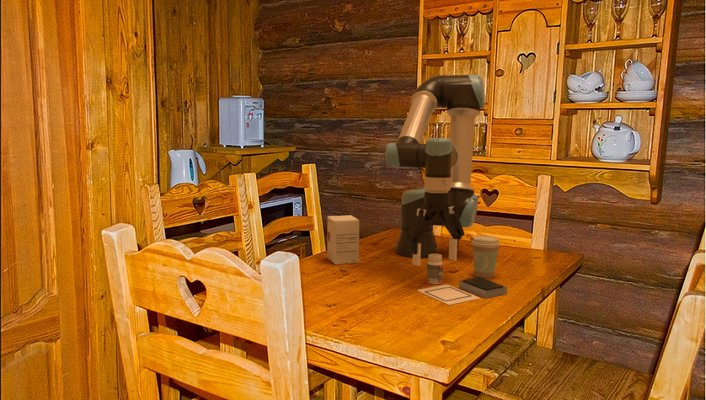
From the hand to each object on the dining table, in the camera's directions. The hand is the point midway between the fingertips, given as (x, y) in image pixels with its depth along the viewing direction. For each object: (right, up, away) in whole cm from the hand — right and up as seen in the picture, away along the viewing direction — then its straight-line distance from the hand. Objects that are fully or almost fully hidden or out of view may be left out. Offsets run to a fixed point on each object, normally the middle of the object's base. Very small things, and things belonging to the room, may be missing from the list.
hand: (434, 262), depth 166 cm
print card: (+2, -8, -10) cm, 13 cm away
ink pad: (+13, -7, -6) cm, 16 cm away
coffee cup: (+17, -5, +9) cm, 20 cm away
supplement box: (-28, -2, +25) cm, 38 cm away
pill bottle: (0, -6, +1) cm, 7 cm away
